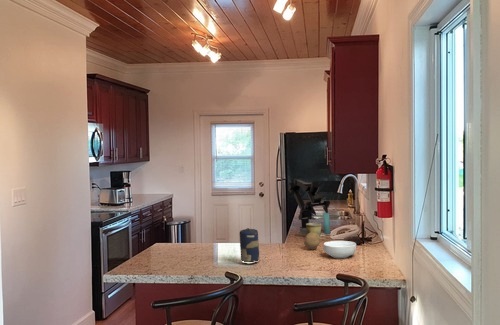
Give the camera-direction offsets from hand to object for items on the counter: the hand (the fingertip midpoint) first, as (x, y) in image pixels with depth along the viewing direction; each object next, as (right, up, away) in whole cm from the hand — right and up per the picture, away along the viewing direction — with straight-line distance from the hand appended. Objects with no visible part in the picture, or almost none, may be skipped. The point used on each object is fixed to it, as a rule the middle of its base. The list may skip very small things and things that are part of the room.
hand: (321, 214), depth 299 cm
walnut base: (-11, -14, -4) cm, 18 cm away
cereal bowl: (-3, -14, -75) cm, 76 cm away
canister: (-49, -16, -78) cm, 94 cm away
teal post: (+3, -13, -6) cm, 14 cm away
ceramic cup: (-8, -14, -22) cm, 27 cm away
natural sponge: (-14, -14, -55) cm, 58 cm away
